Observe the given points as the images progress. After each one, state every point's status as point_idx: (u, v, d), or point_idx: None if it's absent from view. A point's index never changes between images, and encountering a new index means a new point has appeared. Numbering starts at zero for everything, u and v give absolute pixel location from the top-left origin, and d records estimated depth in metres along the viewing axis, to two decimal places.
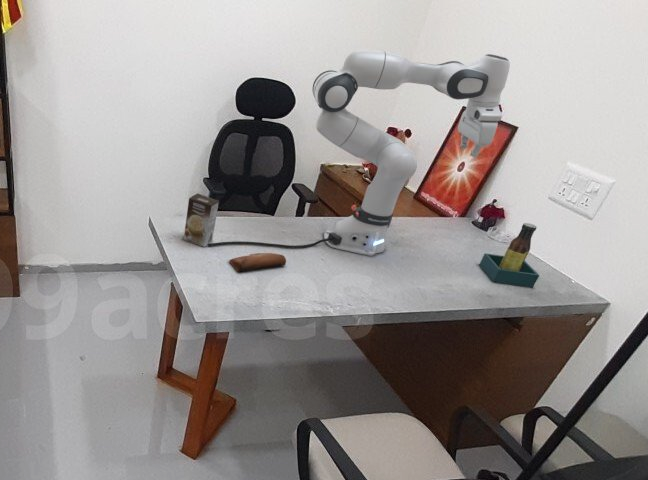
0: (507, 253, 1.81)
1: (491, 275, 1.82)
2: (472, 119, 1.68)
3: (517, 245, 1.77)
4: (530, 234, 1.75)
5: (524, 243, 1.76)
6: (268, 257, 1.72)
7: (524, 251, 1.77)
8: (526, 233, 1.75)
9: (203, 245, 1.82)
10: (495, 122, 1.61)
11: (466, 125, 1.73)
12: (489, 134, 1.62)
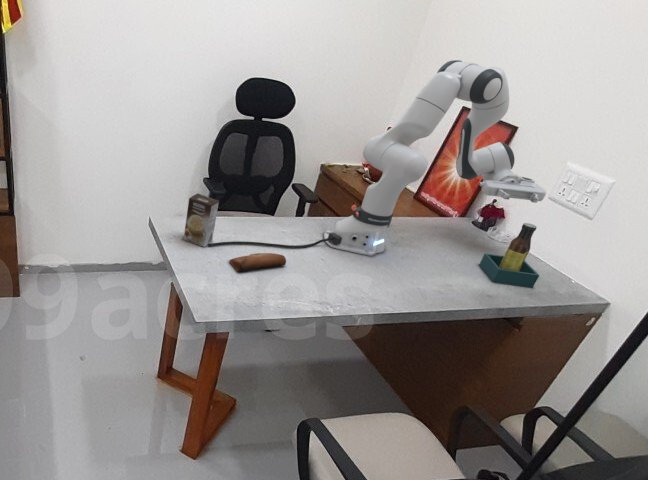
0: (507, 253, 1.81)
1: (491, 275, 1.82)
2: (517, 181, 1.90)
3: (517, 245, 1.77)
4: (530, 234, 1.75)
5: (524, 243, 1.76)
6: (268, 257, 1.72)
7: (524, 251, 1.77)
8: (526, 233, 1.75)
9: (203, 245, 1.82)
10: None
11: (505, 184, 1.88)
12: None
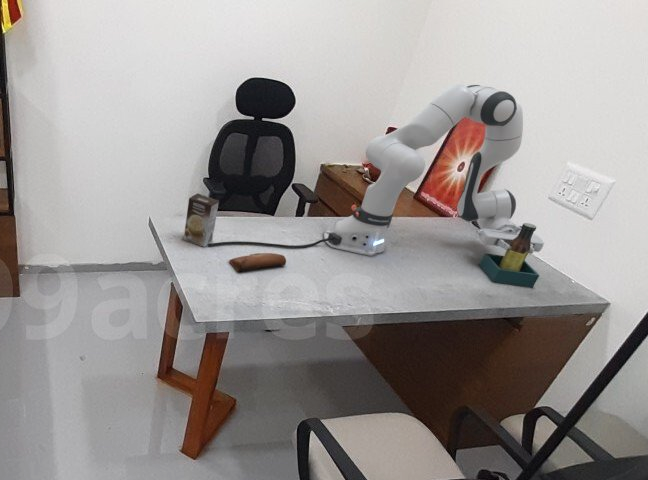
0: (507, 253, 1.81)
1: (491, 275, 1.82)
2: (514, 230, 1.87)
3: (517, 245, 1.77)
4: (530, 234, 1.75)
5: (524, 243, 1.76)
6: (268, 257, 1.72)
7: (524, 251, 1.77)
8: (526, 233, 1.75)
9: (203, 245, 1.82)
10: None
11: (503, 234, 1.85)
12: None
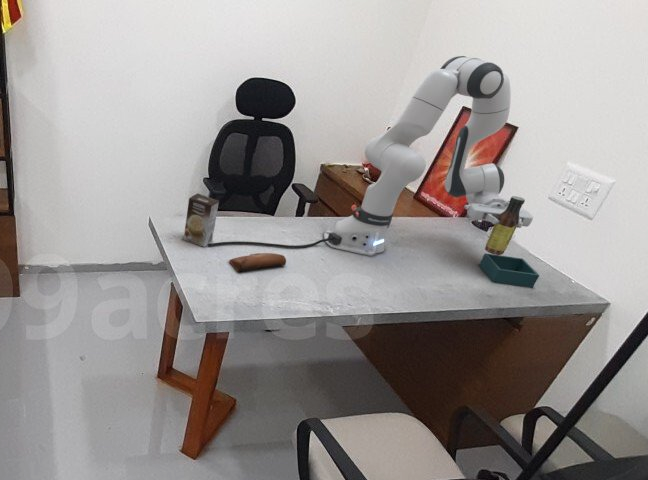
0: (495, 227, 1.77)
1: (491, 275, 1.82)
2: (503, 205, 1.82)
3: (505, 219, 1.73)
4: (518, 207, 1.71)
5: (512, 216, 1.72)
6: (268, 257, 1.72)
7: (512, 225, 1.73)
8: (514, 206, 1.71)
9: (203, 245, 1.82)
10: None
11: (491, 208, 1.81)
12: None
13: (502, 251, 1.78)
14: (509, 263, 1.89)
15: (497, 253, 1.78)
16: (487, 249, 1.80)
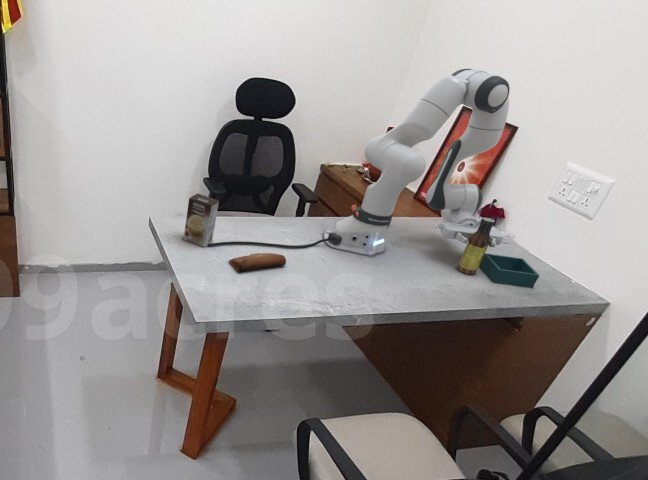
0: (467, 248, 1.81)
1: (491, 275, 1.82)
2: (475, 224, 1.87)
3: (476, 240, 1.78)
4: (488, 228, 1.76)
5: (483, 237, 1.77)
6: (268, 257, 1.72)
7: (483, 246, 1.78)
8: (484, 227, 1.76)
9: (203, 245, 1.82)
10: None
11: (463, 227, 1.85)
12: None
13: (474, 270, 1.83)
14: (509, 263, 1.89)
15: (469, 272, 1.83)
16: (460, 268, 1.85)
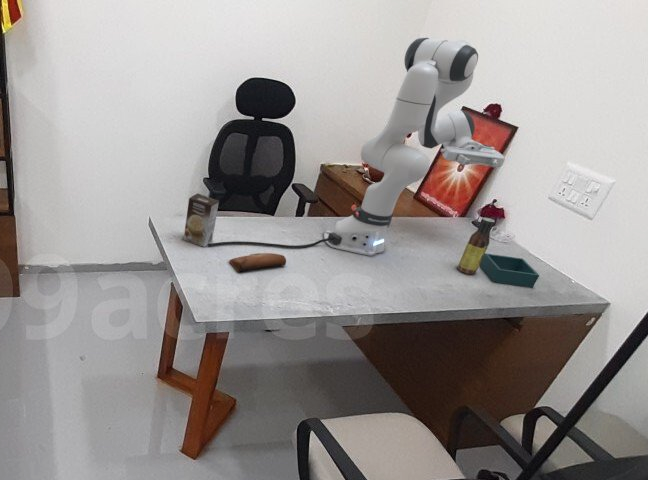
0: (467, 248, 1.81)
1: (491, 275, 1.82)
2: (477, 148, 1.91)
3: (476, 240, 1.78)
4: (488, 228, 1.76)
5: (483, 237, 1.77)
6: (268, 257, 1.72)
7: (483, 246, 1.78)
8: (484, 227, 1.76)
9: (203, 245, 1.82)
10: None
11: (465, 150, 1.89)
12: None
13: (474, 270, 1.83)
14: (509, 263, 1.89)
15: (469, 272, 1.83)
16: (460, 268, 1.85)
